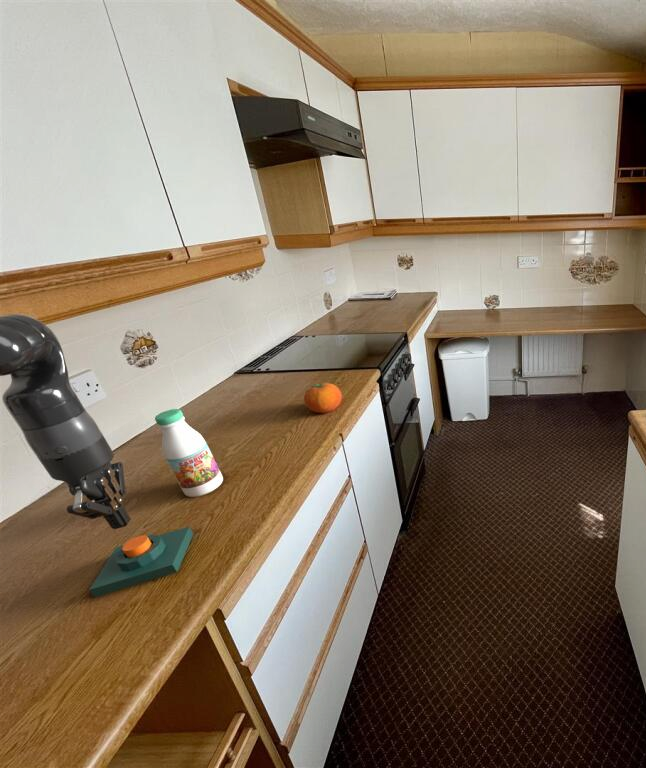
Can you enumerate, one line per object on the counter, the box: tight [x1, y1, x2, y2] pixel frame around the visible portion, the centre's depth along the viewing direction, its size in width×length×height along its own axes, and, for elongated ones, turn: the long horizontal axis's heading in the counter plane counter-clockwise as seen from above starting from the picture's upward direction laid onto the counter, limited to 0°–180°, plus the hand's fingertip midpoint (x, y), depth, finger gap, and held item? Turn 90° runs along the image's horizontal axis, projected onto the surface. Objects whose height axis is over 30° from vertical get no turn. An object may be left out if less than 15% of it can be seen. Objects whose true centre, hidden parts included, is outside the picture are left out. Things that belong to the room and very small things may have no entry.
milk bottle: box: [154, 408, 224, 498], centre depth 91 cm, size 8×8×20 cm
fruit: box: [303, 382, 343, 414], centre depth 125 cm, size 11×10×8 cm
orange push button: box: [122, 535, 152, 558], centre depth 74 cm, size 4×4×2 cm
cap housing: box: [88, 526, 194, 598], centre depth 75 cm, size 12×10×4 cm
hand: (122, 524), depth 71 cm, fingers closed
